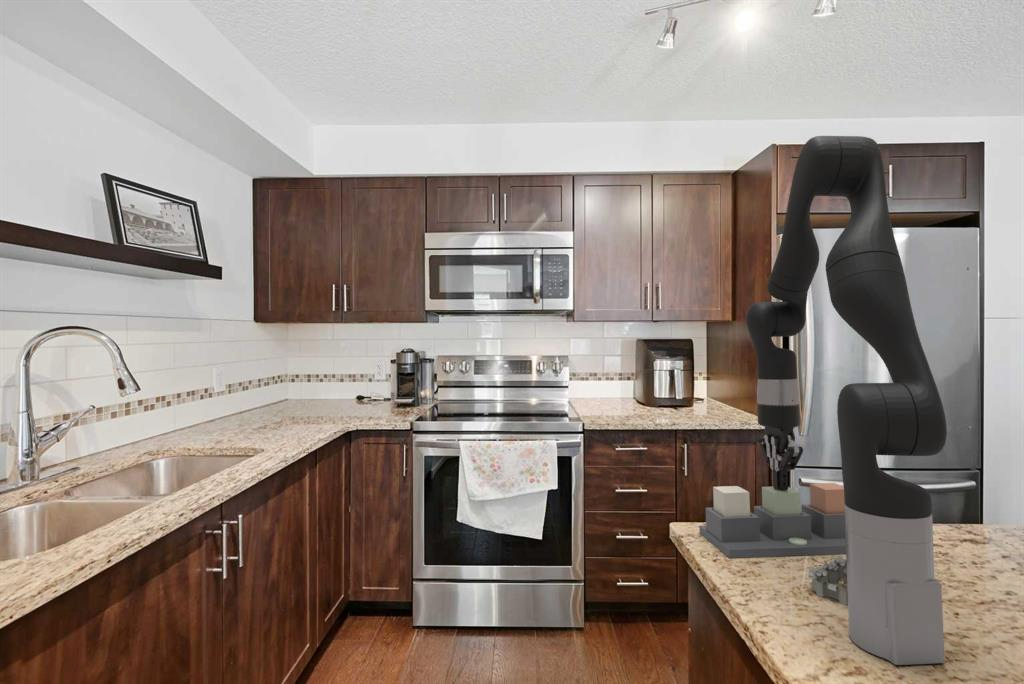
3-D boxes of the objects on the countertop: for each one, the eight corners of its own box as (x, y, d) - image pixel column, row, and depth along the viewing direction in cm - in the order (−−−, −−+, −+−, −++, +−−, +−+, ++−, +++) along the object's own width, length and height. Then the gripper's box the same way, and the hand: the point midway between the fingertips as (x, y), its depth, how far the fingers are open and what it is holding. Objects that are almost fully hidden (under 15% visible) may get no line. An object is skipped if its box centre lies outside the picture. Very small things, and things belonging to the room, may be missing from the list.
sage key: (801, 523, 104) (800, 492, 104) (775, 524, 104) (774, 493, 104) (786, 515, 109) (786, 486, 109) (762, 516, 109) (761, 486, 109)
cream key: (750, 523, 103) (749, 492, 104) (724, 524, 103) (723, 493, 103) (738, 515, 108) (737, 485, 109) (714, 516, 108) (713, 486, 108)
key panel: (878, 552, 99) (877, 520, 99) (729, 558, 98) (728, 525, 98) (830, 528, 113) (829, 499, 113) (699, 532, 112) (698, 503, 112)
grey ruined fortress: (853, 611, 78) (852, 583, 78) (803, 592, 84) (802, 566, 84) (890, 593, 83) (889, 566, 83) (840, 576, 90) (839, 551, 90)
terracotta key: (851, 520, 104) (850, 489, 104) (826, 521, 104) (825, 489, 104) (835, 512, 109) (834, 483, 109) (811, 513, 109) (809, 483, 109)
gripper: (816, 404, 100) (819, 497, 100) (778, 398, 113) (781, 481, 113) (777, 405, 100) (780, 499, 100) (743, 399, 113) (746, 482, 113)
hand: (780, 489), depth 106 cm, fingers closed
